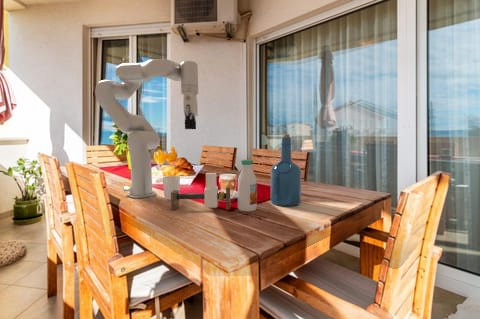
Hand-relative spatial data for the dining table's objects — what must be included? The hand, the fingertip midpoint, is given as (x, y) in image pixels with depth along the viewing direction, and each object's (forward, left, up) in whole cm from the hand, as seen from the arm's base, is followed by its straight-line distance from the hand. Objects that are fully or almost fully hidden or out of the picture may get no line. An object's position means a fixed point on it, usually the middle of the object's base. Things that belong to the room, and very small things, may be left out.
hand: (190, 129), depth 122 cm
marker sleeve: (+10, -15, -32) cm, 37 cm away
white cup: (-10, +2, -32) cm, 34 cm away
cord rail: (+6, -15, -32) cm, 36 cm away
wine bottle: (+42, -8, -32) cm, 54 cm away
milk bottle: (+25, -17, -32) cm, 44 cm away
